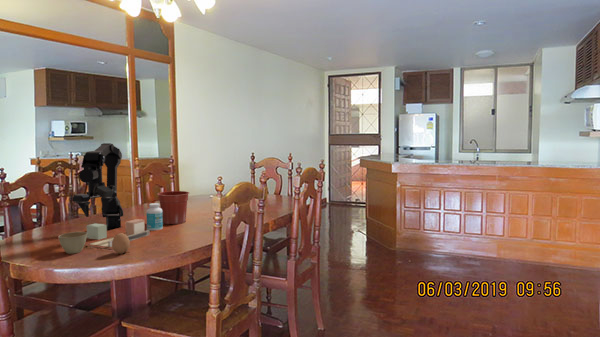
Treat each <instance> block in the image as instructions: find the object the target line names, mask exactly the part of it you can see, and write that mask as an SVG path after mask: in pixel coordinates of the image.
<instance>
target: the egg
mask: <svg viewBox="0 0 600 337" xmlns="http://www.w3.org/2000/svg"><path fill="white" fill-rule="evenodd" d="M125 234H126V233H123V232H120V233H119V232H118V233H117V234H115V235H114V236H113V237H114V239H113V241H112V247H111V249H112V250H113V251H114V252H115V253H116V254H119V255H123V254H125V253H126V252H127V251H128V250H129V249H130V245H131V241H129V238H128V237H127V235H125Z"/></svg>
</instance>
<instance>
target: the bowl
mask: <svg viewBox="0 0 600 337" xmlns="http://www.w3.org/2000/svg"><path fill="white" fill-rule="evenodd" d="M87 239H88V238H87V231H86V232H85V231H72V232H66V233H62V234H60V235H58V241H59V244H60V246H61V248H62V249H63V250H64V251H65V254H68V255H75V254H79V253H80V252H82V250H83V248H84V247H85V244H86V241H87Z"/></svg>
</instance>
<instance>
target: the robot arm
mask: <svg viewBox="0 0 600 337" xmlns="http://www.w3.org/2000/svg"><path fill="white" fill-rule="evenodd" d="M122 159H123V154H122V151H121V150H120V148H119V147H116V146H115V145H114V143H109V142H108V143H105V142H103V143H101V144H100V146H98V147H97V148H96V149H95V150H90V151H86V152H85V153H84V155H83V157H82V162H81V169H82V170H80V172H79V173H78V178H79V180H80V181H81V182H83V183H85V186H87V191H86V192H85V193H77V194H74V195H73V196H72V202H74V203H75V204H78V206H79V208H80V209H81V211H82V212H83V214H84V216H85V217H86V218H88V217H89V216H90V208H89V205H90V204H91V201H90V200H91V199H97V198H100V201H101V202H100V203H101V214H102V218H105V222H106V223H105V225H107V231H108V230H109V231H112V230H116V229H121V228H123V226H122V223H121V222H122V221H121V219H122V218H121V217H124V209H123V208H122V205H121V201H120V199H119V197H118V191H117V190H118V168H119V166H120V164H121V163H122V162H121V160H122ZM104 166H105V167H106V183H105V181H103V170H102V169H103V167H104Z"/></svg>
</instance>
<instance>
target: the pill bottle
mask: <svg viewBox="0 0 600 337" xmlns="http://www.w3.org/2000/svg"><path fill="white" fill-rule="evenodd" d="M148 206H149V207H148V208H147V209H146V211H145V212H146V230H149V231H160V230H163V228H164V226H163V225H164V223H163V215H162V209H161V207H160V202H159V203H158V202H154V203H152V202H151V203H149V204H148Z"/></svg>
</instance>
